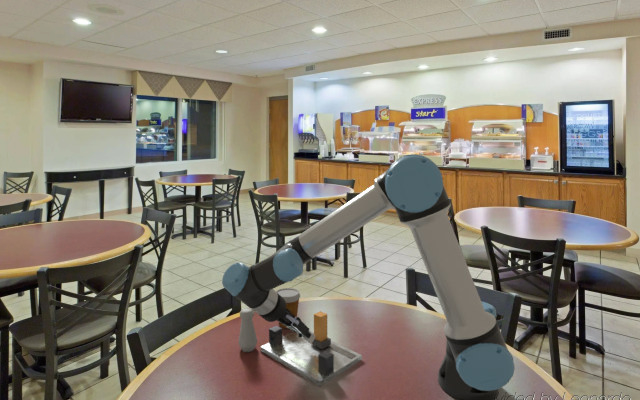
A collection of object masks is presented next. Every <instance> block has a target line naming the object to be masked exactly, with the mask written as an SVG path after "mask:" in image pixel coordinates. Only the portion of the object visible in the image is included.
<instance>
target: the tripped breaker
mask: <svg viewBox="0 0 640 400" xmlns="http://www.w3.org/2000/svg"><path fill="white" fill-rule="evenodd" d="M313 332H314V335H315V336H316V337H315V339H314V341H313V342H312V344H313V345H315V346H317V347H318V348H320V349H323V348H325V347H327V346H329V345H331V341H332V338H330V337H328V313H325V312H323V311H321V310H320V311H318V312H316V313H313Z"/></svg>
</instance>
